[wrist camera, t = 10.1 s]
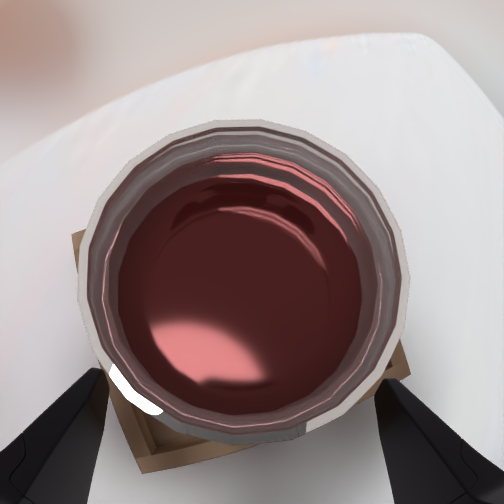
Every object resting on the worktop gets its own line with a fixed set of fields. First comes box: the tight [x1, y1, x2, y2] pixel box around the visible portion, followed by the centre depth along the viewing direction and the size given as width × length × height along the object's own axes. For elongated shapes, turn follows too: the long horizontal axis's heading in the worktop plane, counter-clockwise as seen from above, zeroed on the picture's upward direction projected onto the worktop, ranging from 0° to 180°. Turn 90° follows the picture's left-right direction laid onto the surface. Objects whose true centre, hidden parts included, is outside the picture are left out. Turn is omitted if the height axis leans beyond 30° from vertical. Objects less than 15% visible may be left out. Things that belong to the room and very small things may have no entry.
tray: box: [72, 229, 411, 474], centre depth 17 cm, size 16×14×2 cm
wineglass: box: [77, 120, 410, 446], centre depth 12 cm, size 7×7×12 cm
